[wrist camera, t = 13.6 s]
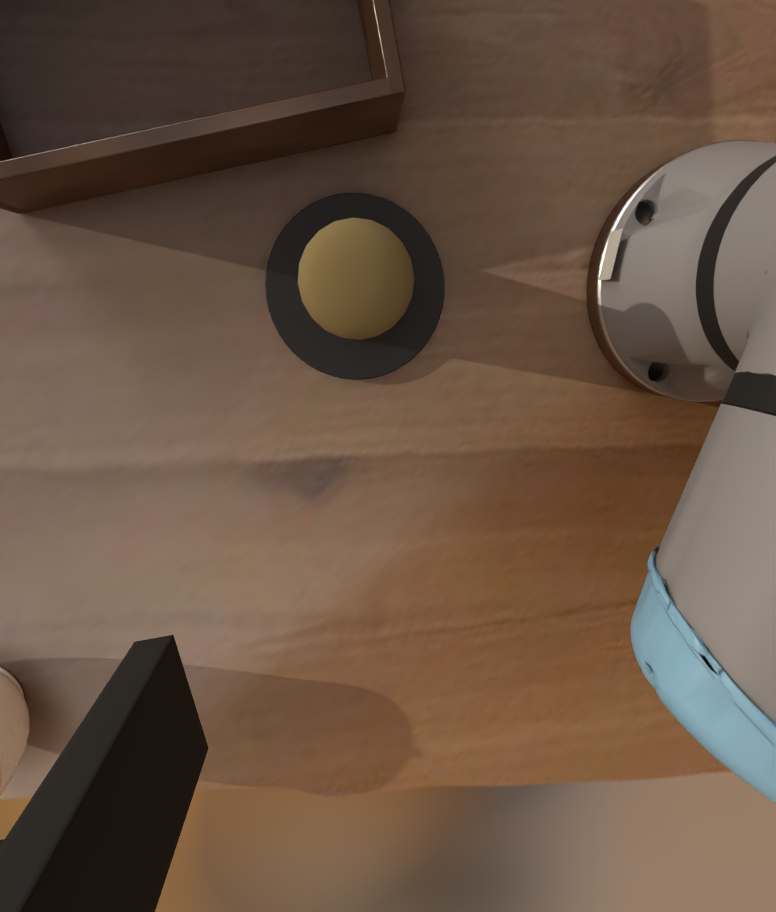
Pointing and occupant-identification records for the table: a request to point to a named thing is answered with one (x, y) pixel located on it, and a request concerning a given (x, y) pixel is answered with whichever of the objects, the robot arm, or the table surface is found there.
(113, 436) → the table surface
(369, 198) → the coaster
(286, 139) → the box
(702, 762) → the table surface
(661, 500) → the table surface
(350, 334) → the cork
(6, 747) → the trinket box
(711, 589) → the robot arm
